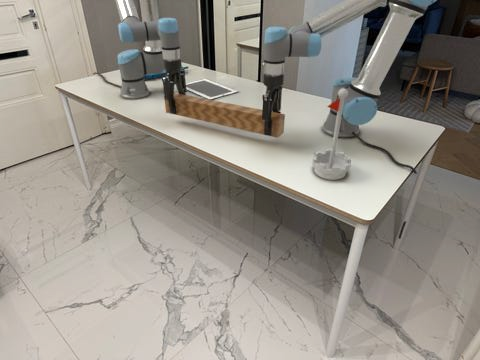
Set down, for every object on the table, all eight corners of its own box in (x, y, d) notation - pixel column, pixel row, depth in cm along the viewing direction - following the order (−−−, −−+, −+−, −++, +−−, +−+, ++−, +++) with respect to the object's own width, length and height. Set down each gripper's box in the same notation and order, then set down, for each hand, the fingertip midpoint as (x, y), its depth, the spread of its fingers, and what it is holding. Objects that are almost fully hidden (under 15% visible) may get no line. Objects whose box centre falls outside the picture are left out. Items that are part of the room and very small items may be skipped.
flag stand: (334, 159, 128) (348, 80, 112) (356, 176, 118) (375, 92, 101) (304, 166, 124) (314, 84, 108) (324, 184, 114) (338, 97, 97)
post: (283, 132, 136) (285, 114, 132) (278, 138, 132) (279, 119, 128) (173, 108, 159) (171, 92, 155) (166, 112, 155) (163, 95, 151)
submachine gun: (173, 60, 241) (193, 66, 225) (174, 66, 243) (193, 71, 227) (128, 69, 223) (145, 75, 206) (129, 75, 225) (146, 82, 208)
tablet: (177, 86, 203) (177, 85, 202) (205, 79, 214) (205, 78, 213) (209, 100, 182) (209, 99, 182) (238, 91, 193) (238, 91, 193)
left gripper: (178, 53, 150) (183, 103, 163) (150, 63, 137) (158, 116, 149) (192, 55, 147) (196, 106, 160) (164, 65, 134) (171, 120, 146)
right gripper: (274, 66, 131) (271, 121, 144) (253, 79, 118) (252, 139, 130) (292, 68, 128) (288, 125, 141) (272, 82, 115) (269, 143, 127)
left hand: (177, 111), depth 155 cm, fingers closed on post, 5 cm apart
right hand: (270, 131), depth 136 cm, fingers closed on post, 5 cm apart
